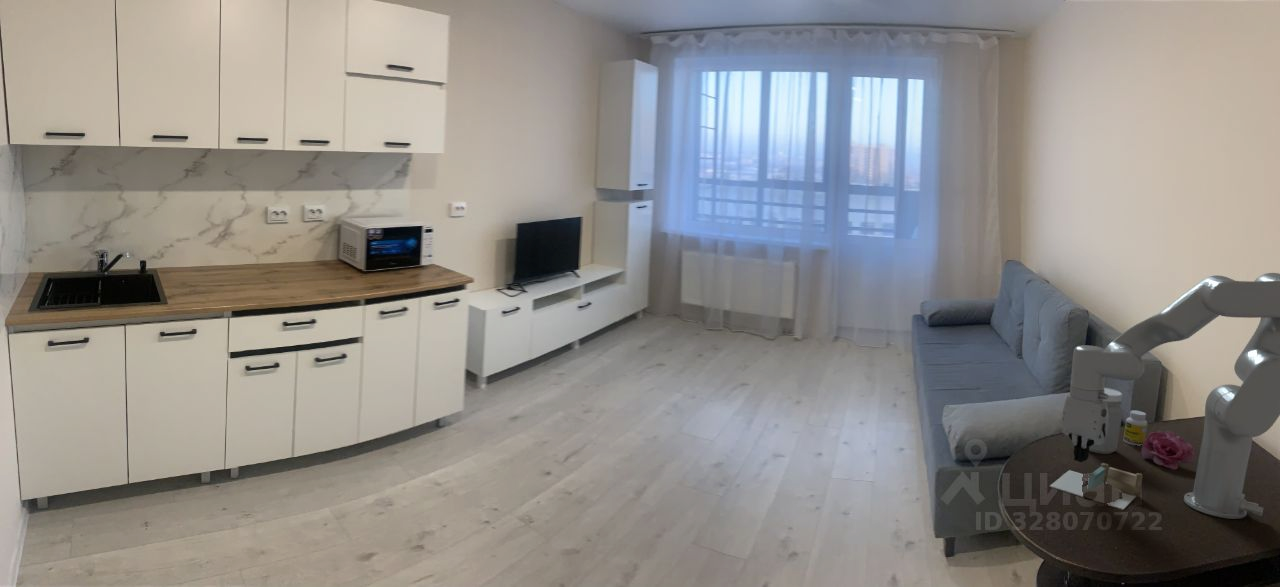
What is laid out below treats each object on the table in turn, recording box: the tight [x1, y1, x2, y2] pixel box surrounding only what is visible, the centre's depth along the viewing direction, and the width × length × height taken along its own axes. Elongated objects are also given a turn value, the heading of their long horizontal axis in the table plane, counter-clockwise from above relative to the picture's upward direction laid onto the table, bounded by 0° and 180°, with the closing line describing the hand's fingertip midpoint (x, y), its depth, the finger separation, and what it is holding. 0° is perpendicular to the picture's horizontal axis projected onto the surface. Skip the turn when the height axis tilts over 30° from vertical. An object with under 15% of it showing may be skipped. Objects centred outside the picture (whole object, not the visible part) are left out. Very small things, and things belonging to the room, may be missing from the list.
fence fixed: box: [1100, 462, 1143, 498], centre depth 197 cm, size 9×2×6 cm, turn 44°
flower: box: [1140, 430, 1195, 470], centre depth 216 cm, size 11×10×10 cm
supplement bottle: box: [1122, 409, 1148, 447], centre depth 230 cm, size 5×5×10 cm
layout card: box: [1049, 469, 1137, 511], centre depth 198 cm, size 17×15×1 cm
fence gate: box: [1087, 466, 1106, 489], centre depth 196 cm, size 9×1×5 cm, turn 131°
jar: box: [1089, 387, 1124, 455], centre depth 224 cm, size 10×10×18 cm
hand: (1080, 460), depth 199 cm, fingers closed
